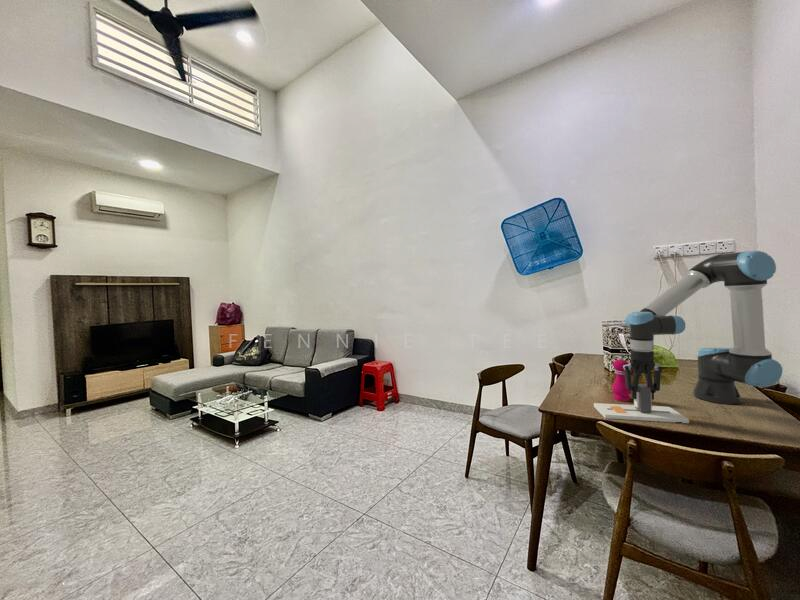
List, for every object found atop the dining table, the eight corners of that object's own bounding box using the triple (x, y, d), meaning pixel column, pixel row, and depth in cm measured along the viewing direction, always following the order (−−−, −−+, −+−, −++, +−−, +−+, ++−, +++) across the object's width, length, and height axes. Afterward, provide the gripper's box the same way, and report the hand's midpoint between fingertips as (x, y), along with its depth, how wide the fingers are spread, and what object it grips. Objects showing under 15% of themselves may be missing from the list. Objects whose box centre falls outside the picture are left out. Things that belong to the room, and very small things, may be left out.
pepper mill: (634, 402, 141) (633, 358, 140) (616, 401, 142) (615, 358, 142) (626, 396, 148) (625, 354, 147) (609, 396, 149) (608, 354, 149)
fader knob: (644, 408, 129) (644, 384, 129) (651, 412, 125) (650, 387, 124) (635, 407, 130) (634, 383, 130) (640, 412, 125) (640, 387, 125)
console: (669, 410, 131) (669, 406, 131) (689, 423, 118) (689, 419, 118) (593, 406, 138) (593, 402, 138) (605, 418, 125) (605, 414, 125)
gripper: (660, 348, 128) (661, 404, 129) (614, 348, 132) (615, 402, 133) (671, 352, 121) (672, 411, 122) (622, 351, 125) (623, 409, 126)
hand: (642, 407), depth 127 cm, fingers closed on fader knob, 3 cm apart
